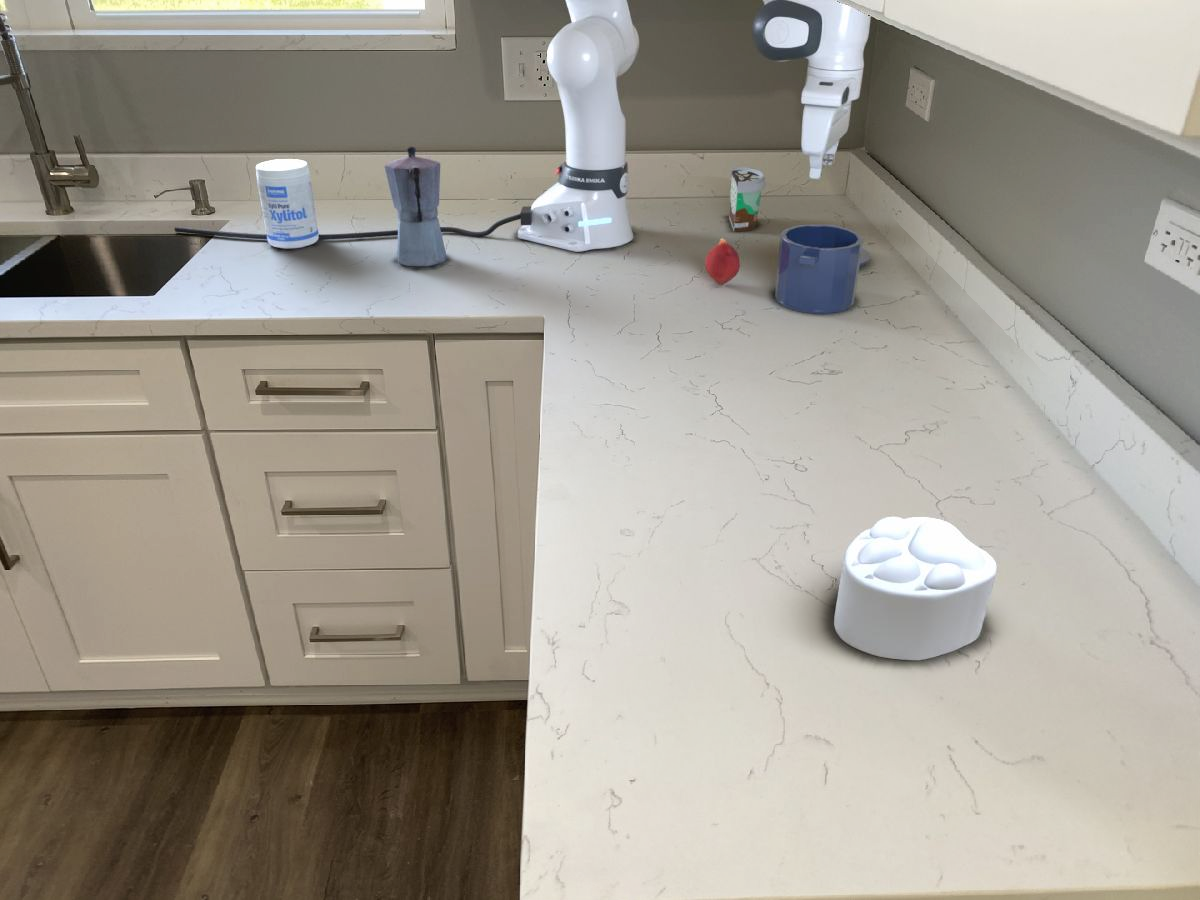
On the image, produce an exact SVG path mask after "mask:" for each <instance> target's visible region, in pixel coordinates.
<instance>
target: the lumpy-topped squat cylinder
mask: <svg viewBox="0 0 1200 900" xmlns="http://www.w3.org/2000/svg"><path fill="white" fill-rule="evenodd" d="M841 567H842V568H841V575H840V579H839V586H838V590H837V591H838V592H837V598H836V604H835V611H834V618H833V627H834V629H835V632H836V634H837V635H838V637H839V638H840V639H841V640H842V641H843V642H845V643H846V644H847V645H849V646H850V647H852V648H854V649H856V650H858V651H861V652H864V653H867V654H869V655H872V656H876V657H879V658H885V659H892V660H902V661H923V660H928V659H933V658H936V657H940V656H943V655H946V654H949V653H952V652H955V651H957V650H959V649H962V648H964V647H965V646H966V647H967V646H968V645H970V644H972V643H974V642H975V641H976V640H977V639H978V638H979V637H980V635H981V632H982V628H983V626H984V625H983V624H984V621H985V617H986V614H987V611H988V607H989V603H990V600H991V595H992V591H993V588H994V583H995V579H996V576H997V572H998V566H997V562H996V560H995V559H994V557H993V556H992V555H991V554H989V553H988V552H987V551H986V550H984V549H982V548H981V547H980V546H977V545H976V544H974V542H972V541H970V540H969V539H968V538H966V536H964V535H963V533H962V532H961V531H960V530H959V529H958V528H957V527H956V526H954V525H953V524H952V523H950V522H948V521H946V520H943V519H939V518H934V517H929V516H928V517H927V516H915V517H907V518H901V517H899V516H886V517H884V518H883V517H882V518H881V519H879V520H878V521H876V522H875V523H874V525H873V526H872V527H870V528H868V529H865V530H863V531H862V532H860V533H859V535H857V536H856V537H855V538H854V539H853V540H852V541H851V543H850V544H849V545H848V546H847V548H846V550H845V553H844V557H843V562H842V566H841Z"/></svg>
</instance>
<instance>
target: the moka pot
mask: <svg viewBox="0 0 1200 900" xmlns="http://www.w3.org/2000/svg"><path fill="white" fill-rule="evenodd" d="M406 151H407V155H408V156H404V157H401V158H396V159H392V160H391V161H389V162H386V163H385V164H384V170H385V175H386V179H387V183H388V187H389V188H388V189H389V191H390V195H391V200H392V203H393V208H394V209H396V216H397V219H398V220H397V230H398V235H397V245H396V247H397V249H396V250H397V251H396V252H397V253H396V259H397V262H398V263H399V264H400V265H403V266H408V267H430V266H435V265H438V264H440V263H443V262H445V261H446V260H447V252H446V248H445V243H444V239H443V234H442V233H443V232H441V229H440V227H441V225H440V221H439V218H438V215H439V212H438V211H439V210H438V208H439V205H440V189H441V183H440V182H441V162H440V161H437V160H434V159H431V158H427V157H422V156H416V151H417V149H416V147H414V146H409V147H407V148H406Z"/></svg>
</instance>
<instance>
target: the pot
mask: <svg viewBox="0 0 1200 900" xmlns="http://www.w3.org/2000/svg"><path fill="white" fill-rule="evenodd" d="M779 236H780V237H779V238H780V239H779V245H778V256H777V266H776V275H775V276H776V278H775V287H774V298H775V301H776V302H777V303H778V304H779V305H781V306H783V307H785V308H787V309H790V310H792V311H797V312H802V313H807V314H817V315H823V314H825V315H826V314H827V315H828V314H835V313H840V312H844V311H847V310H849V309H851V307H852V306H853V305H854V303H855V300H856V293H857V287H858V280H859V273H860V267H859V266H860V259H861V253H862V248H863V245H864V238H863V236H862V235H861V233H858V232H856V231H855V230H853V229H850V228H846V227H842V225H837V224H831V223H830V224H829V223H826V224H824V223H823V224H821V223H820V224H819V223H818V224H817V223H816V224H815V223H812V224H810V223H809V224H800V225H793V226H790V227H788V228H785V229H783V230H782V232H781V233H780V235H779Z"/></svg>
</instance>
